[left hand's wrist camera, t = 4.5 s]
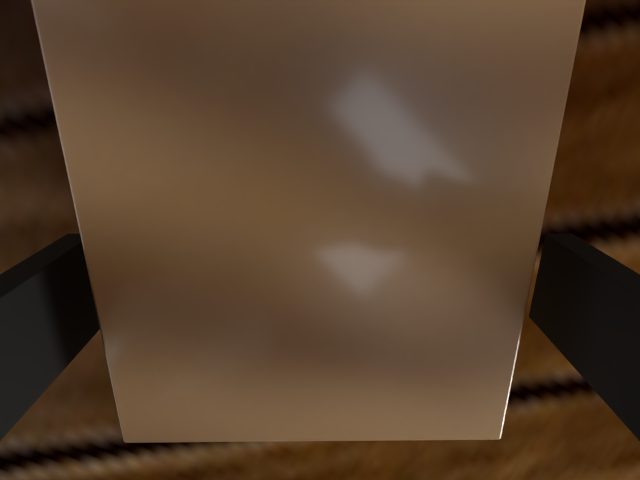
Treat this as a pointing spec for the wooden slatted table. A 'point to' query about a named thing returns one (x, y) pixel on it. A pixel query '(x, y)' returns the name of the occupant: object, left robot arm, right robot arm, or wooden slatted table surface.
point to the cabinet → (309, 206)
